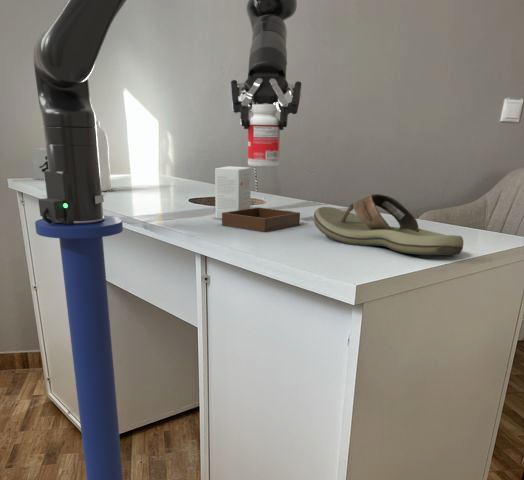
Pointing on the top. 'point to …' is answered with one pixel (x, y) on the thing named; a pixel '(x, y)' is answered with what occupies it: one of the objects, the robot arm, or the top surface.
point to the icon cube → (39, 162)
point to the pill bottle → (263, 137)
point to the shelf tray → (260, 219)
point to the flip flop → (383, 228)
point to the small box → (232, 189)
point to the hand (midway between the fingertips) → (263, 126)
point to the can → (103, 157)
